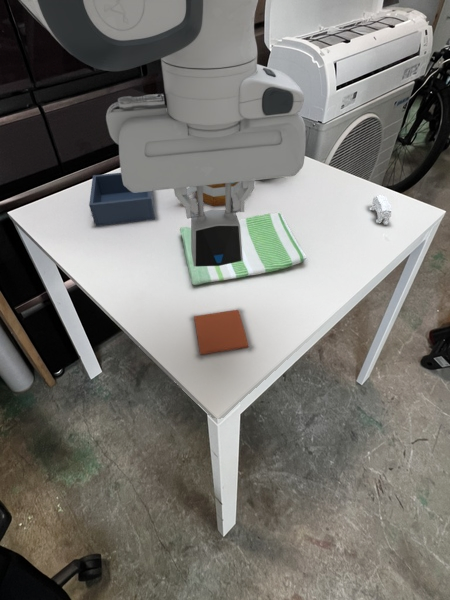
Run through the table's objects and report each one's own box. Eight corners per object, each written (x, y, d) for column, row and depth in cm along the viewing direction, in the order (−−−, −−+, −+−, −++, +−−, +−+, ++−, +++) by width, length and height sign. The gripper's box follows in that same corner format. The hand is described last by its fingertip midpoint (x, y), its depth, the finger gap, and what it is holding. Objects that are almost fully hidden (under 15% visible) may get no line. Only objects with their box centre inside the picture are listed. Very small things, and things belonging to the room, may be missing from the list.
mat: (200, 354, 60) (200, 352, 60) (194, 318, 66) (194, 316, 65) (248, 347, 61) (248, 345, 61) (238, 311, 67) (238, 309, 66)
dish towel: (179, 233, 83) (178, 223, 81) (279, 219, 86) (280, 208, 84) (192, 288, 71) (191, 277, 69) (308, 268, 74) (310, 258, 72)
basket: (95, 226, 86) (89, 205, 81) (98, 195, 95) (92, 175, 91) (155, 219, 87) (151, 198, 83) (152, 189, 96) (148, 169, 92)
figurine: (377, 225, 84) (383, 208, 81) (367, 206, 89) (372, 189, 86) (388, 225, 84) (394, 208, 81) (377, 206, 89) (383, 188, 86)
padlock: (237, 243, 53) (238, 138, 42) (243, 262, 50) (246, 154, 39) (190, 249, 52) (179, 143, 41) (194, 268, 49) (183, 160, 38)
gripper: (99, 110, 33) (130, 237, 43) (320, 93, 35) (301, 217, 45) (102, 87, 37) (130, 208, 47) (299, 73, 39) (285, 191, 49)
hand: (215, 212), depth 46 cm, fingers closed on padlock, 4 cm apart
